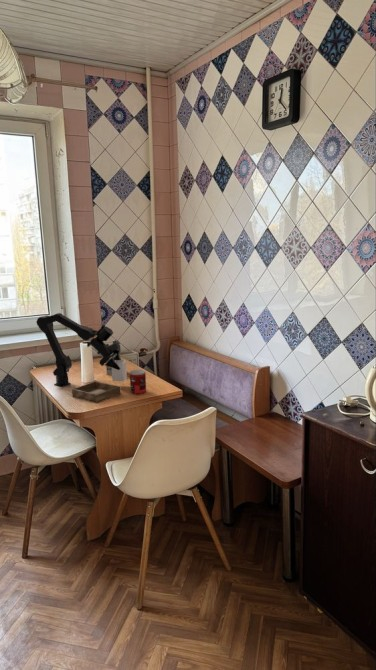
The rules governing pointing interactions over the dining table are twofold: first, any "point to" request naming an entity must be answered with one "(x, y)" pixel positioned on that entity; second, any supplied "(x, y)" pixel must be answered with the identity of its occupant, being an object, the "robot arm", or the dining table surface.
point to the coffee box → (109, 369)
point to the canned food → (138, 382)
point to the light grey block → (119, 371)
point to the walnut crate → (96, 391)
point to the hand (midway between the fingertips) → (121, 367)
